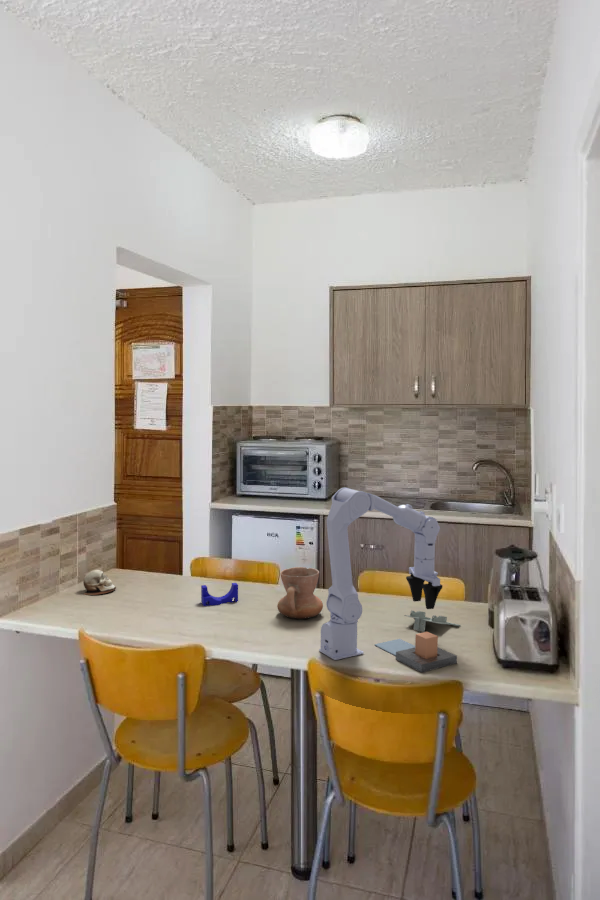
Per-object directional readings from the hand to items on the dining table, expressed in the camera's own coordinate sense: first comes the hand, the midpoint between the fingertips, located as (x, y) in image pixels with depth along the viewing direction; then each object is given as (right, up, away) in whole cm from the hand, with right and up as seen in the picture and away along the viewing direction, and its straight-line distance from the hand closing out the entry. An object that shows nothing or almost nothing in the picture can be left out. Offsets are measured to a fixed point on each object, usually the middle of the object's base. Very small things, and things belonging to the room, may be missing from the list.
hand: (423, 604), depth 186 cm
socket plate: (-2, -11, -16) cm, 20 cm away
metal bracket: (+4, -10, +12) cm, 16 cm away
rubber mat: (-8, -10, -6) cm, 15 cm away
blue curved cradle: (-62, -8, +34) cm, 71 cm away
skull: (-107, -7, +47) cm, 117 cm away
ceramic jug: (-35, -9, +21) cm, 42 cm away
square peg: (-2, -11, -16) cm, 20 cm away
